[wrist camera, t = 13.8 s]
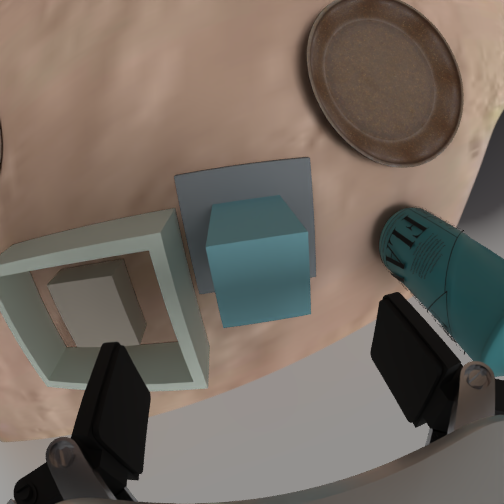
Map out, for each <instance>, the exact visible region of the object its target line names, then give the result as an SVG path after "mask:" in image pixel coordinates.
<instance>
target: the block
mask: <svg viewBox="0 0 504 504" xmlns="http://www.w3.org/2000/svg"><path fill="white" fill-rule="evenodd" d="M206 252H207V256H208V261H209V266H210V271H211V275H212V280H213V285H214V289H215V294H216V298H217V303H218V307H219V311H220V316H221V320H222V324H223V328H227V327H234V326H241V325H248V324H255V323H262V322H268V321H274V320H280V319H286V318H292V317H297V316H303V315H308V314H311V299H310V265H309V243H308V231H307V230H306V229H305V227H304V226H303V225H302V223H301V222H300V221H299V219H298V218H297V217H296V215H295V214H294V213H293V212H292V210H291V209H290V208H289V206H288V205H287V204H286V203H285V201H284V200H283V199H282V198H281V196H280V195H276V196H268V197H261V198H253V199H246V200H240V201H233V202H226V203H220V204H213V205H212V210H211V216H210V222H209V228H208V235H207V241H206Z"/></svg>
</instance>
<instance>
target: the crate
mask: <svg viewBox="0 0 504 504" xmlns="http://www.w3.org/2000/svg"><path fill="white" fill-rule="evenodd" d="M148 250H149V252H150V256H151V259H152V263H153V266H154V270H155V273H156V277H157V280H158V283H159V286H160V290H161V293H162V296H163V299H164V302H165V305H166V308H167V311H168V314H169V317H170V320H171V323H172V326H173V329H174V332H175V334H176V337H177V340H178V342H170V343H158V344H144V345H140V343H141V340H142V337H143V334H144V331H145V328H146V325H147V324H146V322H145V319H144V317H143V314H142V311H141V309H140V306H139V303H138V301H137V298H136V295H135V292H134V290H133V287H132V284H131V281H130V278H129V275H128V272H127V269H126V266H125V263H124V260H123V259H120V260H114V261H108V262H102V263H96V264H90V265H84V266H78V267H72V268H66V269H61V270H60V271H59V272H58V273H57V274H56V276H55V277H54V278H53V279H52V280H51V281H50V282H49V283H48V284H47V287H48V289H49V291H50V294H51V296H52V298H53V300H54V302H55V305H56V307H57V309H58V311H59V313H60V315H61V317H62V319H63V321H64V323H65V325H66V327H67V329H68V331H69V333H70V335H71V336H72V338H73V340H74V342H75V344H76V345H77V347H66V345H65V344H64V342H63V340H62V338H61V337H60V335H59V333H58V331H57V329H56V327H55V325H54V324H53V322H52V320H51V318H50V316H49V314H48V312H47V310H46V308H45V305H44V303H43V301H42V299H41V297H40V295H39V292H38V290H37V288H36V286H35V283H34V281H33V279H32V276H31V274H30V271H33V270H38V269H44V268H49V267H55V266H60V265H66V264H72V263H77V262H83V261H89V260H94V259H100V258H106V257H112V256H118V255H124V254H130V253H136V252H142V251H148ZM0 311H1V313H2V315H3V317H4V319H5V321H6V323H7V325H8V327H9V328H10V330H11V332H12V334H13V335H14V337H15V339H16V341H17V342H18V344H19V345H20V347H21V349H22V350H23V352H24V354H25V355H26V357H27V358H28V360H29V361H30V363H31V364H32V366H33V367H34V369H35V370H36V372H37V373H38V374H39V376H40V377H41V379H42V380H43V381H44V383H45V384H46V386H47V387H56V388H67V389H79V390H85V389H86V386H87V383H88V381H89V379H90V376H91V373H92V370H93V367H94V365H95V362H96V359H97V356H98V354H99V351H100V348H101V346H102V344H103V343H106V342H119V343H120V344H121V345H124V346H125V348H126V350H127V352H128V354H129V355H130V357H131V359H132V361H133V363H134V365H135V367H136V369H137V370H138V372H139V374H140V376H141V378H142V379H143V381H144V383H145V385H146V386H147V388H148V390H149V391H174V390H191V389H204V388H208V375H209V348H210V346H209V342H208V339H207V335H206V332H205V328H204V325H203V321H202V318H201V314H200V310H199V307H198V303H197V299H196V295H195V291H194V287H193V283H192V279H191V275H190V271H189V267H188V263H187V259H186V255H185V250H184V246H183V242H182V237H181V233H180V228H179V224H178V219H177V214H176V209H175V208H172V209H166V210H161V211H156V212H150V213H145V214H140V215H135V216H130V217H125V218H120V219H115V220H111V221H106V222H102V223H97V224H93V225H88V226H84V227H79V228H75V229H71V230H67V231H63V232H59V233H55V234H51V235H47V236H43V237H39V238H35V239H31V240H28V241H24V242H20V243H17V244H13V245H12V246H10V247H9V248H8V249H6V250H5V251H4V252H2V253H1V254H0Z"/></svg>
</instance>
